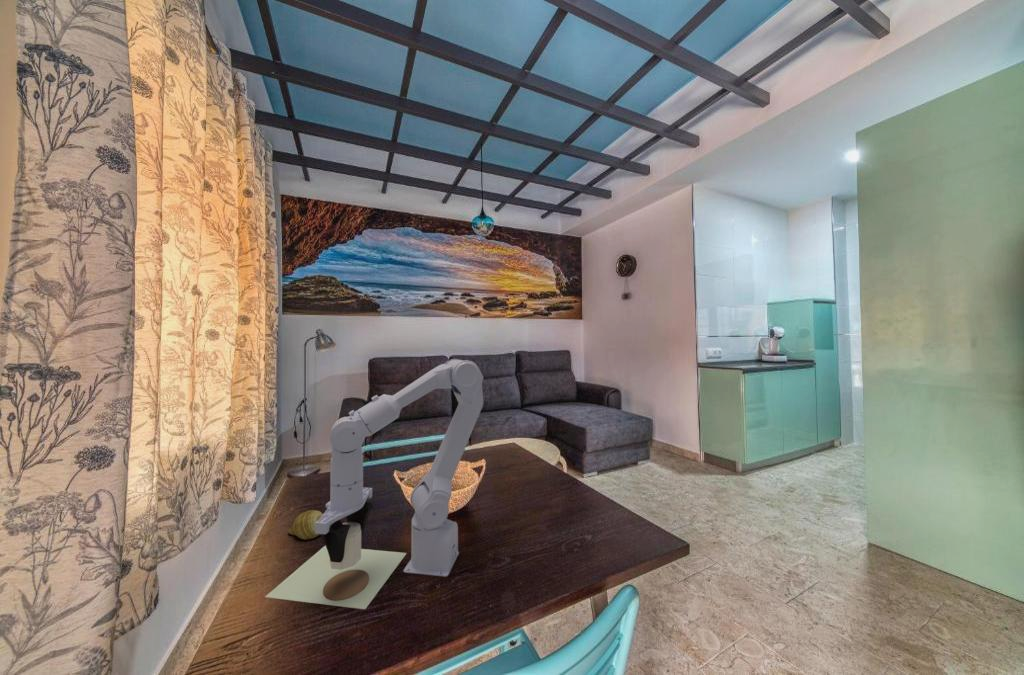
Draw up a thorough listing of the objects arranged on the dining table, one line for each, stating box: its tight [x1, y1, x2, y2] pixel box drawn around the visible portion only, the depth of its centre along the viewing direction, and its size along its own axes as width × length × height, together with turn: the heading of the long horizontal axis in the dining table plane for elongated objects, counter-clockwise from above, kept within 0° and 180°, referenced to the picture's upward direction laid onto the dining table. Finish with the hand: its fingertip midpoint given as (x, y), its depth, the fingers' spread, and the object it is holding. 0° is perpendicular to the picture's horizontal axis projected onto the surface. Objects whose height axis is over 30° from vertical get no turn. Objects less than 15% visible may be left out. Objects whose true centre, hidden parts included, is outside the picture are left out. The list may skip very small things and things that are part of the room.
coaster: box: [323, 569, 369, 601], centre depth 65 cm, size 8×8×1 cm
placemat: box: [264, 545, 407, 610], centre depth 69 cm, size 20×16×1 cm
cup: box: [330, 521, 362, 570], centre depth 65 cm, size 5×5×6 cm
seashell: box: [287, 509, 324, 541], centre depth 83 cm, size 10×7×8 cm
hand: (346, 551), depth 65 cm, fingers closed on cup, 5 cm apart
